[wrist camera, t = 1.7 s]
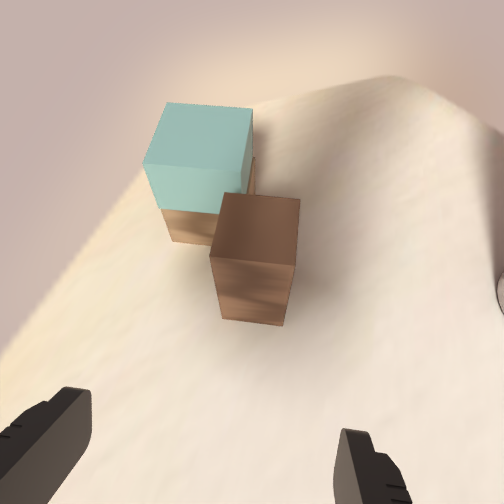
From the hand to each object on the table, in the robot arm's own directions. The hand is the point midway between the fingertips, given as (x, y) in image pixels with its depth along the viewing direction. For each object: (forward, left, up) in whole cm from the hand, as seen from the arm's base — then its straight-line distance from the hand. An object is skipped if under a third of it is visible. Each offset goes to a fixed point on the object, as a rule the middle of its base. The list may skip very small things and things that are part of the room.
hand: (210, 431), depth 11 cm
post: (0, -12, -15) cm, 19 cm away
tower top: (+5, -20, -10) cm, 23 cm away
